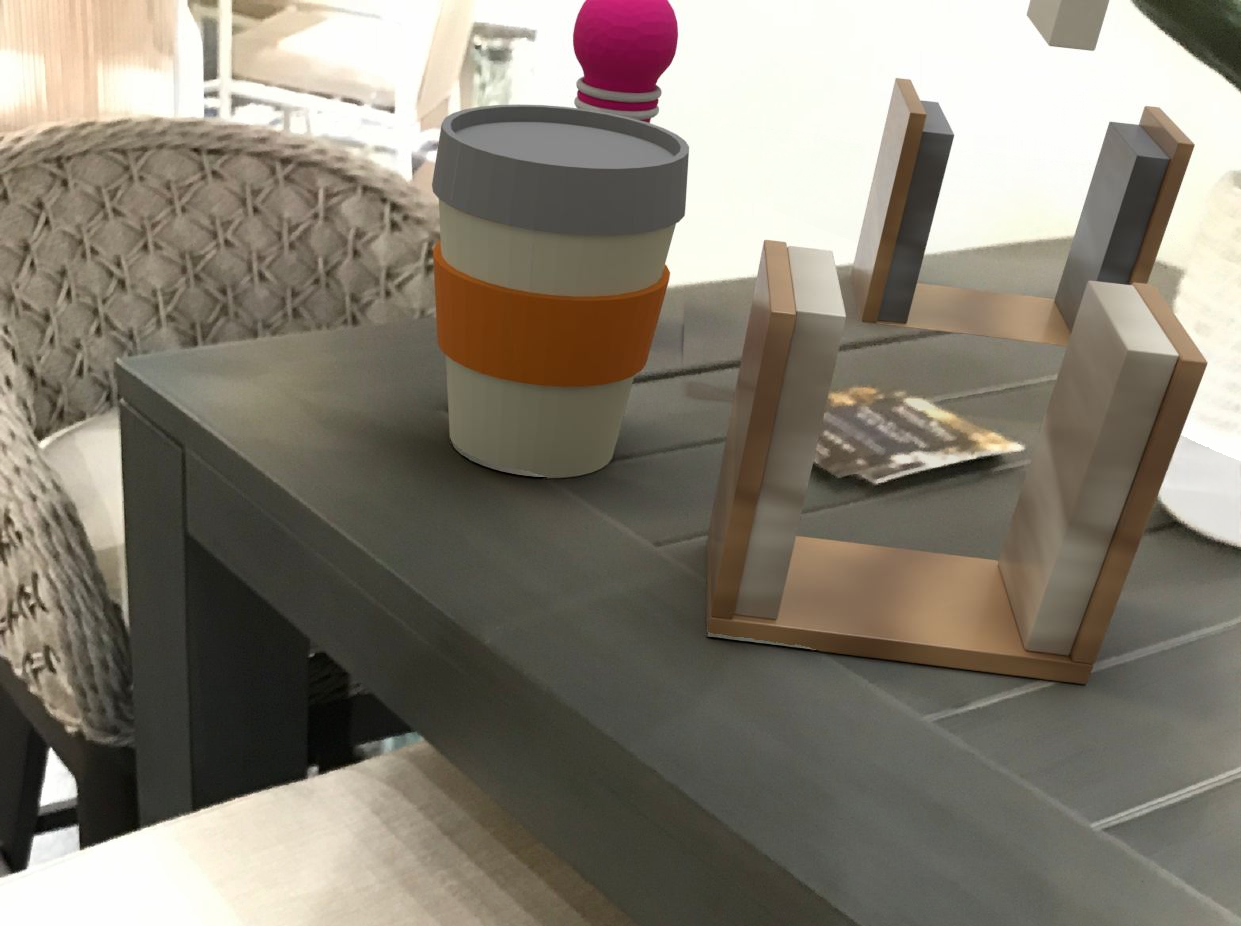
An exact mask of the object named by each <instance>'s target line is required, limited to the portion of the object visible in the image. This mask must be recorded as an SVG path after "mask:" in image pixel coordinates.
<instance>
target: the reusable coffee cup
mask: <svg viewBox="0 0 1241 926" xmlns="http://www.w3.org/2000/svg"><path fill="white" fill-rule="evenodd" d="M689 157H690V146H689V143H687V141H686V140H685V139H684V138H683V137H681V136H680V135H678V134H676V133H675V132H673V131H671V130H669V129H666V128H664V127H662V126H659V125H656V124H653V123H651V122H650V123H648V122H644V121H640V120H637V119H633V118H630V117H625V116H620V115H616V114H611V113H605V112H599V111H593V110H587V109H579V108H577V107H570V106H558V105H544V104H495V105H484V106H477V107H470V108H465V109H462V110H461V109H460V110H458V111H455V112H452V113H450V115H447V116H445V117H444V119H443V120H442V122H441V124H440V132H439V137H438V145H437V150H436V156H435V163H434V169H433V175H432V182H431V188H432V192H433V194H434V195H435V196H436V197H437V198H438V215H439V235H440V236H439V237H440V240H439V241H438V242H437V243H436V244H435V245H434V247H433V249H432V257H433V258H432V260H433V279H434V298H435V299H434V300H435V301H434V302H435V318H436V320H435V321H436V339H437V346H438V347H439V349H440V350H441V352H442V353H443V354H444V355H445V364H446V365H445V366H446V367H445V368H446V386H447V389H446V390H447V407H448V409H447V411H448V427H449V431H448V432H449V439H450V438H451V440H452V441H453V443H454V444H455V445H457V446H458V448H460V449H462V451H463V452H466V453H468V454H469V455H471V456H475V457H476V458H478V459H480V460H483V461H486V462H489V463H490V464H494V465H498V466H501V467H505V468H511V469H518V470H524V471H530V472H532V473H535V474H538V475H543V476H545V477H547V478H546V479H564V478H565V479H566V478H573V477H579V476H584V475H588V474H591V473H594V472H597V471H599V470H601V469H603V468H604V467H605V466H607V465H609V463H610V462H611V461H612V459H613V456H614V453H615V449H616V446H617V442H618V439H619V434H620V432H621V431H620V430H621V427H622V424H623V420H624V416H625V413H626V409H627V406H628V401H629V398H630V395H631V390H632V386H633V383H634V380H635V376H636V375H637V374H638V373H640V372H641V371H642V370H643V369H644V368H645V367H646V365H647V362H648V359H649V354H650V351H651V347H652V344H653V341H654V340H653V339H654V336H655V332H656V329H657V325H658V322H659V318H660V315H661V311H662V307H663V303H664V300H665V297H666V294H667V289H668V285H669V282H670V279H671V278H670V277H671V272H670V269H669V267H668V265H667V264H666V262H667V257H668V255H669V251H670V248H671V243H672V241H673V236H674V233H675V229H676V225H677V224H678V223H680V222H681V220H683V218H684V217H685V215H686V205H687V191H688V190H687V189H688V174H689V173H688V172H689Z"/></svg>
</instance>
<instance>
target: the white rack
mask: <svg viewBox="0 0 1241 926" xmlns="http://www.w3.org/2000/svg"><path fill="white" fill-rule="evenodd" d="M762 244H763V245H762V247H761V248H762V249H761V254H760V260H759V264H758V270H757V275H756V280H755V285H754V291H753V296H752V300H751V301H752V302H751V306H750V312H749V317H748V322H747V327H746V332H745V333H746V334H745V338H744V341H743V342H744V343H743V348H742V354H741V357H740V359H741V360H740V363H739V368H738V369H739V370H738V375H737V380H736V384H735V389H734V390H735V392H734V395H733V400H732V406H731V411H730V417H729V422H728V427H727V431H726V432H727V433H726V437H725V442H724V449H723V454H722V458H721V462H720V463H721V464H720V469H719V474H718V479H717V485H716V490H715V496H714V500H713V505H712V510H711V516H710V522H709V527H708V533H707V538H706V543H705V544H706V545H705V547H706V548H705V550H706V551H705V553H706V554H705V555H706V558H705V559H706V561H705V563H706V564H705V565H706V573H705V574H706V575H705V576H706V577H705V578H706V581H707V584H706V631H707V630H708V632H710V633H713V634H722V635H727V636H732V637H744V638H753V639H755V640H764V641H770V642H774V643H776V642H778V643H784V644H788V645H795V644H797V645H801V646H805V647H810V648H812V649H816V650H819V651H818V652H823V653H831V654H838V655H848V656H854V657H861V658H871V659H877V660H878V659H879V660H887V661H895V662H902V663H911V664H918V665H927V666H935V667H942V668H943V667H944V668H950V669H951V668H952V669H958V670H967V671H975V672H984V673H991V674H1000V675H1007V676H1013V677H1014V676H1015V677H1023V678H1031V679H1040V680H1047V681H1053V682H1054V681H1055V682H1063V683H1069V684H1079V685H1087V684H1088V681H1089V679H1090V677H1091V673H1092V671H1093V668H1094V664H1095V663H1096V660H1097V658H1098V655H1099V652H1100V650H1101V647H1102V644H1103V641H1104V639H1105V636H1106V634H1107V632H1108V629H1109V627H1110V623H1111V621H1112V618H1113V615H1114V612H1115V611H1116V607H1117V604H1118V602H1119V600H1120V596H1121V594H1122V591H1123V588H1124V587H1125V585H1126V581H1127V578H1128V575H1129V573H1130V570H1131V568H1132V565H1133V562H1134V561H1135V557H1136V555H1137V552H1138V549H1139V546H1140V544H1141V541H1142V539H1143V536H1144V534H1145V531H1146V528H1147V526H1148V523H1149V520H1150V517H1151V515H1152V512H1153V509H1154V507H1155V504H1156V502H1157V498H1158V496H1159V494H1160V491H1161V488H1162V486H1163V483H1164V480H1165V478H1166V474H1167V472H1168V469H1169V467H1170V465H1171V462H1172V459H1173V456H1174V454H1175V452H1176V448H1177V446H1178V443H1179V441H1180V438H1181V435H1182V433H1183V431H1184V427H1185V425H1186V422H1187V420H1188V417H1189V414H1190V412H1191V409H1192V406H1193V404H1194V401H1195V399H1196V395H1197V393H1198V391H1199V388H1200V385H1201V383H1202V381H1203V377H1204V375H1205V372H1206V370H1207V369H1206V368H1207V366H1208V361H1207V359H1206V358H1205V356H1204V355H1203V353H1202V352H1201V351H1200V350H1201V349H1199V347H1198V346H1197V345H1196V343H1195V341H1194V340H1193V338H1192V337H1191V336H1190V334H1189V333H1188V331H1187V330H1186V329H1185V327H1184V326H1183V324H1182V323H1181V321H1180V320H1179V319H1178V317H1177V316H1176V314H1175V313H1174V311H1173V310H1172V308H1171V307H1170V305H1169V304H1168V302H1167V300H1166V299H1165V298H1164V297H1163V295H1162V294H1161V292H1160V290H1159V289H1158V288H1157V286H1156V285H1155V284H1151V283H1147V284H1143V283H1132V285H1124V284H1116V283H1107V282H1098V281H1088V283H1087V286H1086V289H1085V292H1084V295H1083V298H1082V301H1081V304H1080V307H1079V311H1078V314H1077V317H1076V320H1075V323H1074V326H1073V329H1072V333H1071V336H1070V339H1069V342H1068V345H1067V346H1066V348H1065V351H1064V355H1063V358H1062V361H1061V364H1060V367H1059V370H1058V373H1057V377H1056V379H1055V383H1054V386H1053V389H1052V391H1051V396H1050V397H1049V398H1050V399H1049V402H1048V405H1047V408H1046V411H1045V415H1044V417H1043V420H1042V424H1041V427H1040V429H1039V433H1038V437H1037V439H1036V443H1035V446H1034V449H1033V452H1032V455H1031V458H1030V461H1029V464H1028V467H1027V471H1026V474H1025V476H1024V480H1023V482H1022V487H1021V489H1020V493H1019V495H1018V499H1017V502H1016V504H1015V508H1014V511H1013V514H1012V518H1011V521H1010V524H1009V526H1008V530H1007V532H1006V533H1007V534H1006V535H1005V540H1004V543H1003V545H1002V549H1001V552H1000V555H999V559H998V560H997V559H989V558H982V557H981V558H980V557H972V556H966V555H965V556H964V555H954V554H948V553H941V552H940V553H939V552H932V551H923V550H915V549H907V548H901V547H900V548H899V547H892V546H891V547H890V546H882V545H874V544H866V543H859V542H858V543H857V542H850V541H841V540H834V539H833V540H832V539H825V538H819V537H818V538H817V537H808V536H801V535H798V530H799V526H800V521H801V517H802V513H803V509H804V504H805V501H806V496H807V492H808V487H809V483H810V478H811V474H812V470H813V465H814V461H815V457H816V451H817V447H818V443H819V439H820V435H821V429H822V427H823V426H822V425H823V421H824V417H825V412H826V408H827V404H828V399H829V395H830V392H831V386H832V382H833V377H834V373H835V368H836V364H837V360H838V356H839V351H840V347H841V342H842V338H843V334H844V330H845V325H846V320H847V313H846V309H845V304H844V300H843V295H842V294H843V293H842V289H841V285H840V281H839V276H838V275H839V274H838V271H837V266H836V261H835V257H834V252H833V251H832V250H831V249H830V250H829V249H821V248H812V247H803V246H797V245H796V246H795V245H788V244H787V242H786V241H779V240H771V239H764V240H763V242H762ZM707 619H708V620H707ZM707 627H708V628H707Z"/></svg>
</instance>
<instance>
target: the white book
mask: <svg viewBox="0 0 1241 926" xmlns="http://www.w3.org/2000/svg"><path fill="white" fill-rule="evenodd" d="M1109 3H1110V0H1029V4H1028V8H1027V11H1026V17H1027V18H1028V19H1029V21H1030V22H1031V23H1032V25H1033V26H1034V27H1035V29H1036V30H1037V31H1038V33H1039V34H1040V35H1041V38H1043V40H1044V41H1045V42H1046V44H1047V45H1048V46H1049V47H1054V48H1064V49H1072V50H1082V51H1090V52H1093V51H1095V50H1096V48H1097V44H1098V42H1099V37H1100V34H1101V31H1102V28H1103V24H1104V21H1105V17H1106V14H1107V10H1108V7H1109Z"/></svg>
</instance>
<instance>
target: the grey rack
mask: <svg viewBox="0 0 1241 926" xmlns="http://www.w3.org/2000/svg"><path fill="white" fill-rule="evenodd" d="M891 92H892V93H891V96H890V99H889V100H890V101H889V105H888V109H887V113H886V117H885V123H884V127H883V131H882V137H881V139H880V140H881V141H880V144H879V145H880V146H879V150H878V153H877V159H876V162H875V167H874V172H873V176H872V179H871V180H872V181H871V184H870V189H869V193H868V198H867V202H866V206H865V211H864V216H863V220H862V224H861V228H860V233H859V237H858V242H857V247H856V251H855V255H854V260H853V264H852V268H851V273H850V279H851V283H852V288H853V293H854V297H855V301H856V306H857V310H858V315H859V318H860V319H859V320H860V322H861V323H868V324H877V325H886V326H893V327H901V328H902V327H903V328H912V329H918V330H919V329H920V330H929V331H937V332H945V333H954V334H962V335H971V336H977V337H987V338H997V339H1003V340H1005V339H1006V340H1012V341H1013V340H1014V341H1022V342H1023V341H1024V342H1029V343H1037V344H1038V343H1039V344H1047V345H1055V346H1065V347H1067V345H1068V342H1069V339H1070V336H1071V333H1072V329H1073V326H1074V323H1075V320H1076V317H1077V314H1078V311H1079V307H1080V304H1081V301H1082V298H1083V295H1084V292H1085V289H1086V286H1087V283H1088V281H1098V282H1107V283H1116V284H1124V285H1132V283H1143V284H1149V280H1150V278H1151V275H1152V271H1153V268H1154V266H1155V264H1156V259H1157V256H1158V254H1159V251H1160V248H1161V245H1162V243H1163V240H1164V237H1165V233H1166V230H1167V227H1168V224H1169V221H1170V219H1171V216H1172V213H1173V210H1174V208H1175V205H1176V201H1177V198H1178V195H1179V193H1180V190H1181V187H1182V183H1183V181H1184V178H1185V175H1186V172H1187V169H1188V166H1189V163H1190V161H1191V157H1192V155H1193V151H1194V148H1195V146H1196V145H1195V143H1194V142H1193V141H1192V139H1190V137H1188V136H1187V134H1185V132H1184V131H1182V129H1181V128H1180V127H1179V126H1178V125H1177V124H1176V123H1175V122H1174V121H1173V120H1172V119H1171V118H1170V117H1169V116H1168V115H1167V114H1166V112H1164V111H1163V109H1162V108H1161V107H1159V106H1150V105H1145V106H1144V107H1143V111H1142V114H1141V117H1140V119H1139V123H1138V124H1134V123H1126V122H1117V121H1109V122H1108V125H1107V128H1106V131H1105V135H1104V138H1103V141H1102V144H1101V147H1100V151H1099V155H1098V157H1097V161H1096V164H1095V166H1094V171H1093V174H1092V177H1091V180H1090V183H1089V185H1088V186H1089V187H1088V190H1087V193H1086V196H1085V199H1084V203H1083V206H1082V209H1081V212H1080V216H1079V219H1078V221H1077V225H1076V229H1075V232H1074V235H1073V237H1072V242H1071V244H1070V248H1069V252H1068V255H1067V258H1066V261H1065V264H1064V268H1063V270H1062V274H1061V278H1060V281H1059V284H1058V287H1057V290H1056V294H1055V297H1054V298H1050V297H1049V298H1048V297H1040V296H1033V295H1032V296H1031V295H1023V294H1014V293H1005V292H999V291H997V292H996V291H988V290H980V289H971V288H963V287H954V286H945V285H937V284H930V283H929V284H928V283H920V282H918V281H919V278H920V277H919V276H920V274H921V273H920V272H921V268H922V264H923V261H924V257H925V252H926V250H927V245H928V241H929V237H930V233H931V230H932V225H933V221H934V217H935V214H936V210H937V206H938V202H939V197H940V194H941V190H942V185H943V182H944V178H945V174H946V170H947V167H948V162H949V158H950V155H951V150H952V146H953V142H954V138H955V134H954V131H953V129H952V127H951V125H950V123H949V121H948V119H947V117H946V115H945V113H944V111H943V109H942V107H941V105H940V103H939V102H938V101H931V100H921V99H920V96H919V95H918V93H917V90H916V88H915V85H914V84H913V82H912V80H911V79H909V78H901V77H896V78H895V79H894V83H893V87H892V91H891Z"/></svg>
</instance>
